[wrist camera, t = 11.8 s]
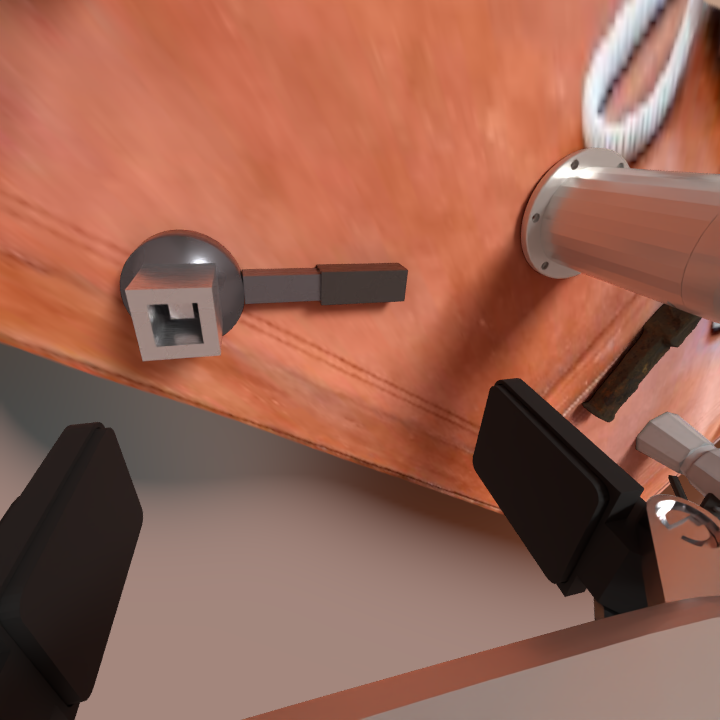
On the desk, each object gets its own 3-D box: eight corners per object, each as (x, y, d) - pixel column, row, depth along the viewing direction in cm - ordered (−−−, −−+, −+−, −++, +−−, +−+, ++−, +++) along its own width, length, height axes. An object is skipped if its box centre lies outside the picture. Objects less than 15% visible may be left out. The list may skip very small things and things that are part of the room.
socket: (215, 263, 30) (211, 287, 24) (223, 322, 32) (220, 355, 27) (144, 264, 28) (124, 290, 23) (157, 325, 31) (142, 361, 26)
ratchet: (401, 230, 35) (427, 243, 30) (392, 320, 39) (413, 343, 35) (114, 229, 29) (92, 245, 24) (141, 336, 33) (126, 367, 28)
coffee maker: (691, 397, 63) (835, 477, 48) (685, 431, 67) (814, 514, 52) (613, 438, 62) (734, 532, 47) (613, 470, 67) (722, 564, 52)
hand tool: (592, 409, 57) (618, 429, 53) (576, 403, 55) (602, 423, 51) (683, 299, 51) (720, 312, 47) (669, 288, 49) (706, 300, 45)
